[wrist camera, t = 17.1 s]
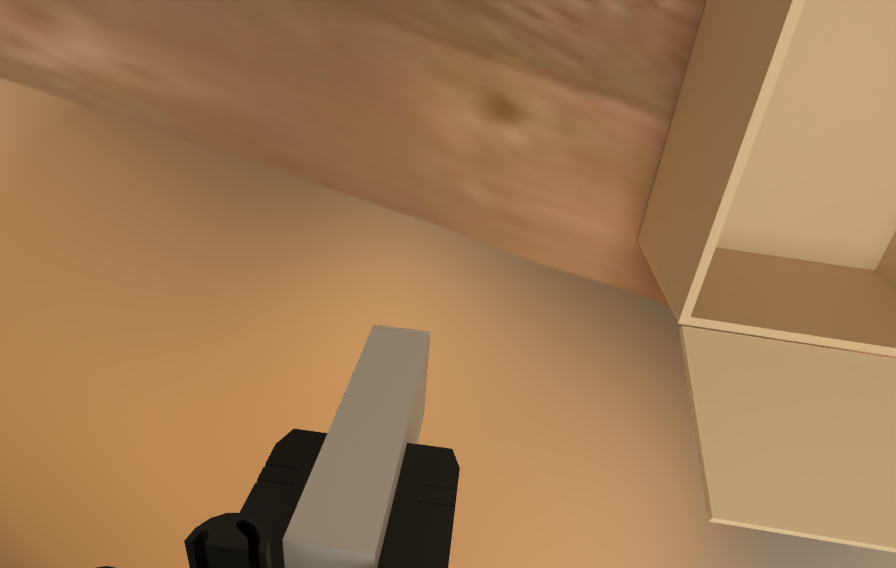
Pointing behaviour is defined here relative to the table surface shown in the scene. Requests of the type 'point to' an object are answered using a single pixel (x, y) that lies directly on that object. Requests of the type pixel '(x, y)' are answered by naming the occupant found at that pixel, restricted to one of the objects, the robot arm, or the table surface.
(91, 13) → the table surface
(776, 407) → the flap
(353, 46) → the table surface
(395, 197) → the table surface
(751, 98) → the carton
